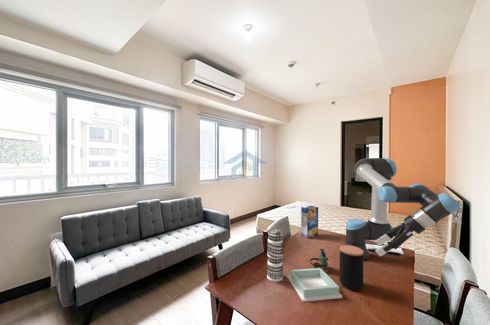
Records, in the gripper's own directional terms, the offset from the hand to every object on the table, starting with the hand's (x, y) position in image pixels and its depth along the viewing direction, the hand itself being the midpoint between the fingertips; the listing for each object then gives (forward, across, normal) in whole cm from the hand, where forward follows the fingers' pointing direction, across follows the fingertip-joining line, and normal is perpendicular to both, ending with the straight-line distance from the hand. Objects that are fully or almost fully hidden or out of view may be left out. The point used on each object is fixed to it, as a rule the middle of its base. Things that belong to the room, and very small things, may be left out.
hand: (377, 248), depth 97 cm
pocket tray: (+34, -12, +4) cm, 36 cm away
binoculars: (+35, +8, +5) cm, 36 cm away
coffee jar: (+23, +1, -7) cm, 24 cm away
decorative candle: (+48, -13, +18) cm, 53 cm away
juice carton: (+47, +60, +18) cm, 78 cm away
